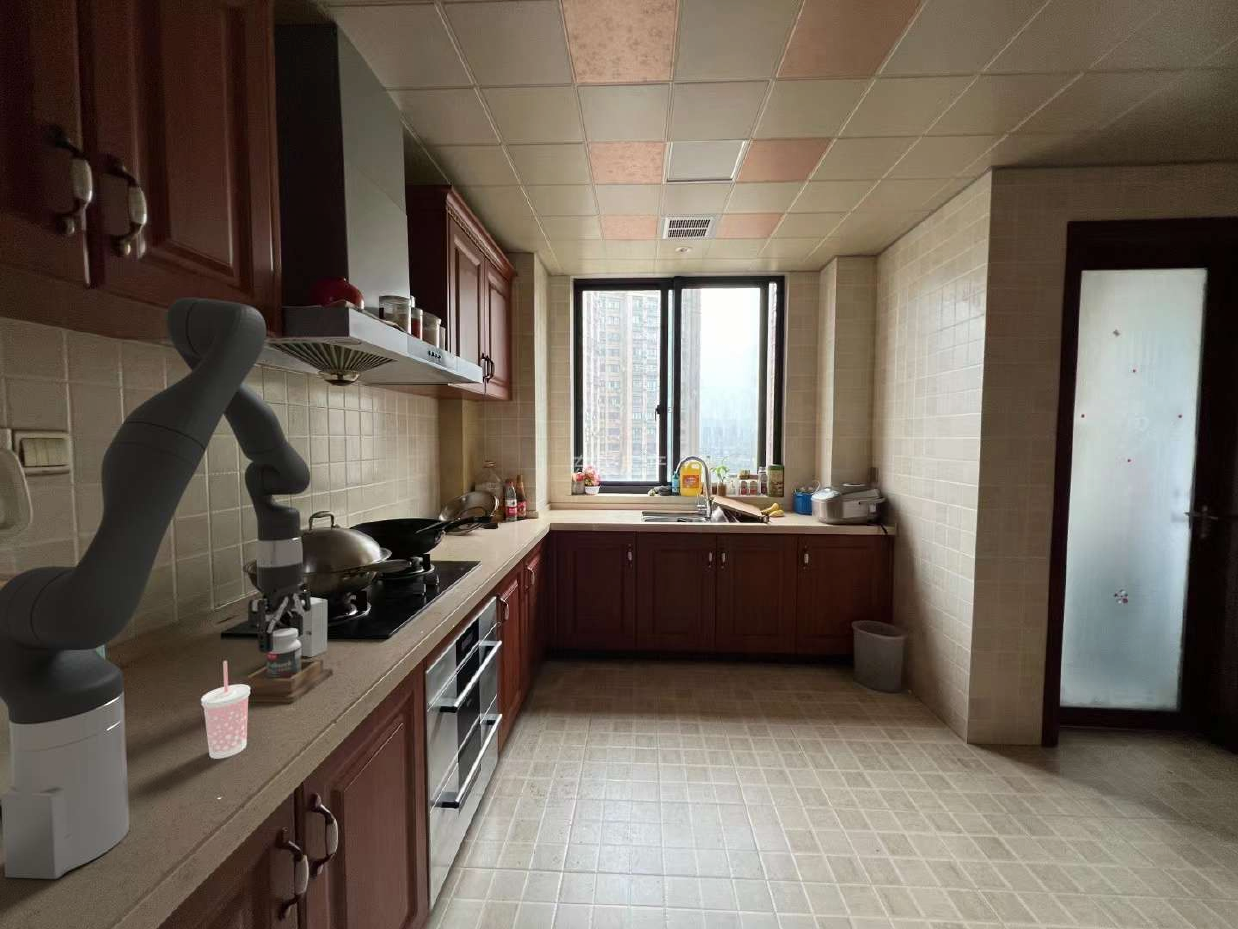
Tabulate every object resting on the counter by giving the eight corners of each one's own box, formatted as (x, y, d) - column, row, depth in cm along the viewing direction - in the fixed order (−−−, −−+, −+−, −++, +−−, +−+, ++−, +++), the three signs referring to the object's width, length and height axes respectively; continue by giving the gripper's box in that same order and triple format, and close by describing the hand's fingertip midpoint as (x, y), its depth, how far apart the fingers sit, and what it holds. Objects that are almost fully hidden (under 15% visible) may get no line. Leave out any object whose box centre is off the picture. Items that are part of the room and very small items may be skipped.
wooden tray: (293, 702, 97) (292, 683, 96) (231, 701, 97) (230, 682, 97) (332, 674, 109) (332, 657, 108) (277, 673, 109) (276, 656, 109)
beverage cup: (214, 742, 84) (211, 656, 83) (258, 736, 85) (255, 651, 85) (195, 764, 78) (191, 672, 77) (242, 757, 80) (239, 666, 79)
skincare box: (292, 654, 119) (290, 601, 119) (310, 647, 123) (308, 596, 123) (311, 658, 117) (310, 604, 117) (329, 650, 121) (327, 598, 121)
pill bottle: (261, 690, 99) (260, 638, 99) (273, 677, 105) (272, 628, 105) (295, 686, 101) (294, 635, 100) (305, 674, 106) (304, 625, 106)
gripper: (272, 569, 95) (274, 658, 95) (321, 554, 109) (323, 631, 109) (232, 569, 95) (235, 657, 96) (286, 554, 109) (288, 631, 110)
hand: (282, 643), depth 102 cm, fingers open, 8 cm apart
